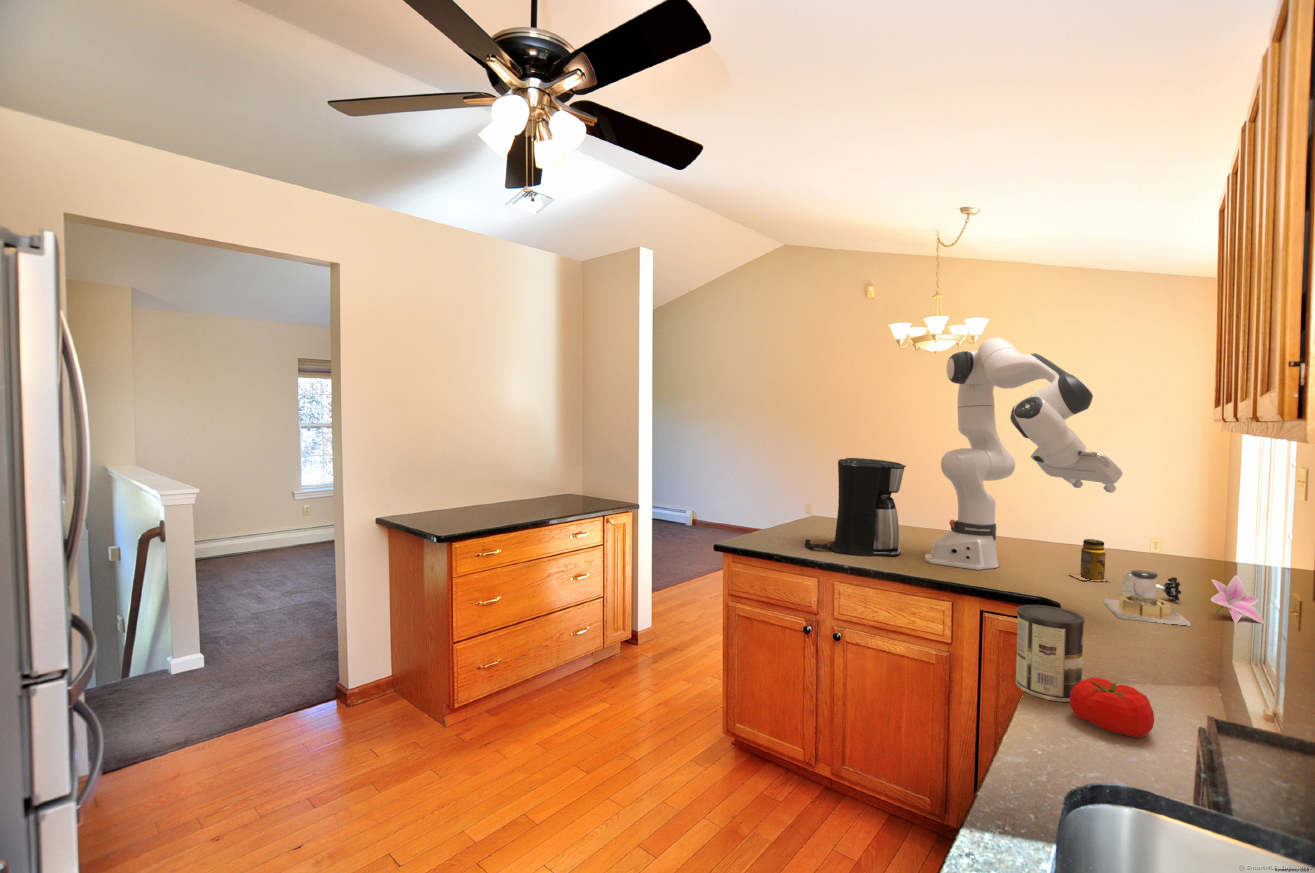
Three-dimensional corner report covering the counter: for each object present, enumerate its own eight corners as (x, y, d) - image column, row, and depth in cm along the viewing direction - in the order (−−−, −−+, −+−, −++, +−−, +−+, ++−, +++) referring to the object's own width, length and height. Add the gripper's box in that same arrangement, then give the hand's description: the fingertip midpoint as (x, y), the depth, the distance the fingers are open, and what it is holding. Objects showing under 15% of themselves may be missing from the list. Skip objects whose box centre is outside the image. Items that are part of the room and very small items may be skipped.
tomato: (1079, 704, 105) (1080, 667, 105) (1160, 729, 97) (1161, 689, 96) (1061, 722, 98) (1062, 683, 98) (1146, 751, 90) (1148, 708, 90)
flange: (1118, 617, 150) (1118, 604, 150) (1103, 602, 163) (1104, 589, 163) (1190, 626, 144) (1190, 612, 144) (1169, 609, 157) (1169, 596, 157)
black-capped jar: (1134, 611, 152) (1135, 574, 152) (1128, 605, 157) (1128, 569, 157) (1160, 613, 150) (1160, 576, 150) (1152, 607, 155) (1153, 571, 155)
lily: (1198, 621, 151) (1222, 594, 146) (1186, 592, 161) (1208, 565, 156) (1256, 642, 148) (1282, 615, 143) (1240, 611, 157) (1264, 584, 152)
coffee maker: (914, 556, 214) (917, 461, 213) (830, 560, 207) (832, 462, 206) (878, 542, 236) (880, 456, 235) (801, 545, 229) (803, 457, 228)
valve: (1126, 599, 166) (1180, 605, 162) (1127, 575, 166) (1181, 580, 161) (1117, 592, 172) (1170, 598, 168) (1118, 569, 172) (1171, 574, 167)
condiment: (1111, 582, 183) (1112, 543, 182) (1082, 581, 183) (1083, 542, 183) (1095, 576, 190) (1096, 538, 190) (1067, 575, 191) (1068, 537, 190)
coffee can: (1064, 679, 115) (1067, 605, 114) (1093, 705, 104) (1096, 624, 104) (1005, 674, 116) (1008, 602, 116) (1028, 699, 106) (1031, 620, 106)
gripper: (1109, 444, 144) (1141, 484, 147) (1040, 440, 165) (1069, 475, 167) (1092, 462, 144) (1125, 502, 146) (1025, 456, 164) (1055, 492, 166)
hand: (1095, 488), depth 156 cm, fingers open, 8 cm apart
